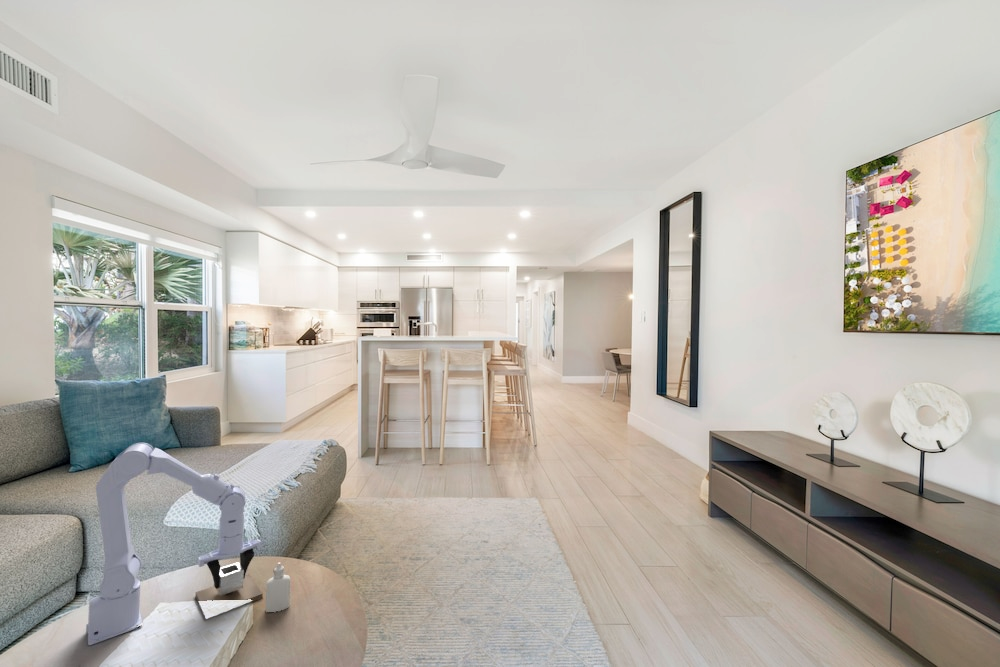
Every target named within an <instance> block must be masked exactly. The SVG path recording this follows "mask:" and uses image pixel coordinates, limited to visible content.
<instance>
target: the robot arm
mask: <svg viewBox="0 0 1000 667" xmlns="http://www.w3.org/2000/svg"><path fill="white" fill-rule="evenodd" d="M145 471H147V473H146V475H154V474H160V473H161V474H165V475H167V476H168V477H172V478H174V479H175V480H178V481H179V482H182V483H184V484H186V485H188V486H190V487H192V493H193V495H195V496H198V497H199V498H201V499H204V500H205V501H207V502H209V503H210V504H212V505H215V506H219V510H220V512H221V513H220V518H219V529H218V549H214V550H212V551H211V552H208V553H206V554H203V555H201V556H198V557H197V565H198V567H199V568H200V567H204V566H205V565H207V567H208V569H209V571H210V574H211V576H212V579H213V586H215V588H216V589H217V588H219V573H220V568H221V567H222V566H221V564H220V560H224V559H227V558H232V557H234V556H238V555H239V563H240V565H241V566H242V568H243V569H244V578H245V575H247V571H248V568H249V566H250V563H251V562H252V560H253V558H254V556H255V552H254V550H258V549H262V541H261V540H260V539H259V538H258V539H254V540H249V541H244V530H245V527H244V526H245V514H244V512H245V505H246V503H247V502H246V496H245V495H246V494H245V492H244V490H243V489H242V487H240V485H235V484H234V483H230V484H229V483H228V482H226V481H224V480H223V479H221V478H220V475H219V474H217V473H215V474H212V473H206V474H205V473H204V474H201V473H200V472H197V471H196V470H194V469H193V468H191V467H190V466H188V465H186V464H185V463H183V462H182V461H180V460H178V459H176V458H175V457H173V456H171V455H170V454H169V453H167V452H165V451H163V450H162V449H160V448H157V447H154V446H152V444H150V443H147V442H137V443H133V444H131V445H130V446H128V447H126V448H125V449H124V450H123V451H122V452H121V453H119V454H118V455H117V456H116V457H115V459H114V460H113V461H111V462H110V463H109V466H108V467H107V468H106V469H105V472H104V473H103V475H102V476H101V477H100V479H99V480H98V482H97V483H96V486H95V493H96V500H97V501H96V502H97V508H98V513H99V523H100V528H101V529H100V530H101V537H102V546H103V551H104V562H103V571H102V573H103V577H102V580H101V583H100V586H99V592H100V594H99V595H97V596H95V597H93V598H92V597H91V598H90V599H89V600H88V619H87V620H88V621H87V623H86V625H85V627H86V628H85V633H86V634H87V642H88V643H87V644H88V646H93V645H95V644H99V643H100V642H103V641H107V640H108V639H111V638H114V637H117V636H120V635H122V634H125V633H127V632H131V631H133V630H136V629H137V628H136V627H137V626H138V625H139V624H140V623H143V620H142V615H141V611H140V605H141V604H140V601H141V600H140V599H141V580H139V579H138V577H137V576H138V574H139V572H140V571H141V569H142V564H143V563H142V559H141V558H140V557H139V556H138V555H137V553H136V549H135V547H134V545H133V544H132V542H133V541H132V535H131V529H130V527H131V526H130V520H129V515H128V514H129V512H128V505H127V504H128V503H127V498H126V490H125V486H126V485H127V484H128V483H129V482H130V481H131V480H132V479H134V478H136V477H138V476H140V475H141V474H143V473H144V472H145ZM244 578H243V579H244ZM135 628H136V629H135Z"/></svg>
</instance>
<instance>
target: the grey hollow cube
mask: <svg viewBox="0 0 1000 667" xmlns="http://www.w3.org/2000/svg"><path fill="white" fill-rule="evenodd" d="M243 578H244V569H243V568H242V566H241V565H240V561H238V562H234V563H231V564H228V565H225V566H221V567H220V573H219V588H217V589H216V590H217V591H218V593H219V595H220V596H222V595H225V594H227V593H230V592H233V591H236V590H238V589H241V588H243Z"/></svg>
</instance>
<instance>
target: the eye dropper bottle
mask: <svg viewBox="0 0 1000 667" xmlns="http://www.w3.org/2000/svg"><path fill="white" fill-rule="evenodd" d="M265 590H266V591H265V613H267V612H274V613H277V612H276V611H278V612H281V610H282V611H284V610H286V609H287V608H289V607H290V600H291V599H290V598H291V576H290V575H288V574H285V567H284V566H283V565H282V563H281V562H277V565H276V567H274V569H273V577H271V578H269V579H268V580H267V581H266V588H265Z"/></svg>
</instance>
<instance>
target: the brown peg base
mask: <svg viewBox="0 0 1000 667" xmlns="http://www.w3.org/2000/svg"><path fill="white" fill-rule="evenodd" d="M263 594H264V593H263V592H262V590H261V589H260V587H259V586H258V584H257V583H256V581H255V580H254V579H253V578H252V576H251V574H250V573H248V574H245V578H244V579H243V588H241V589H238V590H236V591H233V592H230V593H227V594H225V595H222V596H220V595H219V593H218V591H217V590H216V588H215V586H214V585H213V586H210V587H208V588H205V589H202V590H199V591H196V592H195V598H196V601H197V600H198V601H207V600H212V601H213V600H248V599H251V600H253V602H256V601H258V600H261V599H263ZM260 598H261V599H260ZM198 601H197V602H198Z"/></svg>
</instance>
